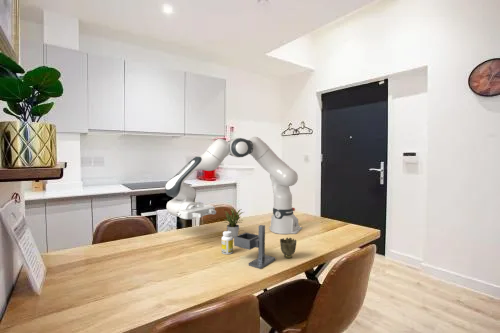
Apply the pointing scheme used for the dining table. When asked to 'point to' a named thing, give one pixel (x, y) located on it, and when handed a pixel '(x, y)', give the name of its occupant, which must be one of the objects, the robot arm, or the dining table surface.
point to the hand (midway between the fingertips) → (208, 214)
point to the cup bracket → (254, 241)
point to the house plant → (233, 223)
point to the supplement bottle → (227, 243)
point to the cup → (288, 247)
